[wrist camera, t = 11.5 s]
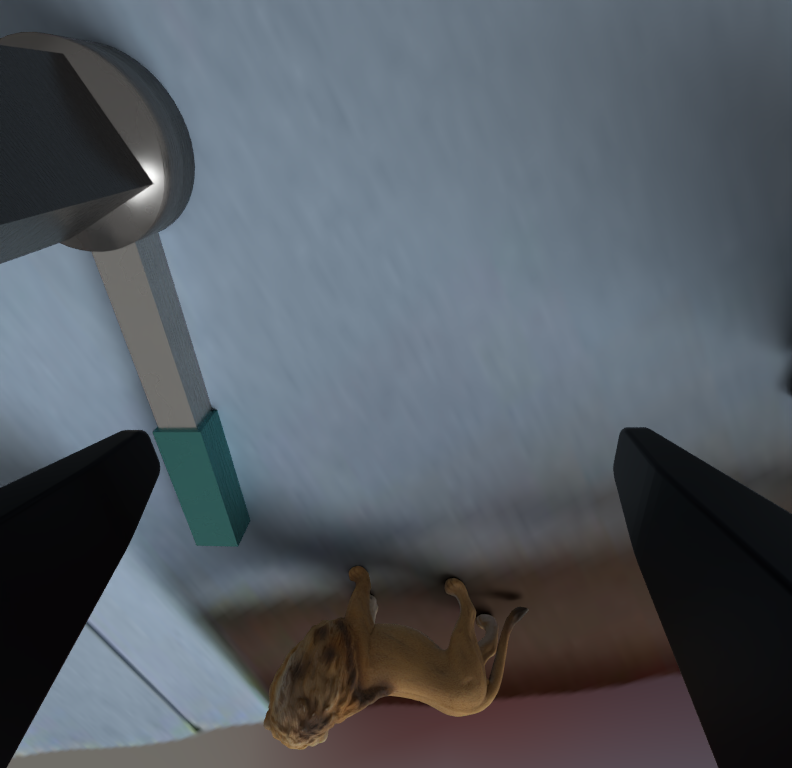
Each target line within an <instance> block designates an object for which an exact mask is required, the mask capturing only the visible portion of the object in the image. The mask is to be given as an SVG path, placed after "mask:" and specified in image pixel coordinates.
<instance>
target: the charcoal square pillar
mask: <svg viewBox="0 0 792 768" xmlns="http://www.w3.org/2000/svg"><path fill="white" fill-rule="evenodd" d="M153 184H154V183H153V182H152V181H151V179H150V178H149V176H148V175H147V173H146V172H145V170H144V169H143V168H142V166H141V165H140V163H139V162H138V160H137V159H136V157H135V156H134V155H133V153H132V152H131V150H130V149H129V147H128V146H127V145H126V143H125V142H124V140H123V139H122V137H121V136H120V134H119V133H118V132H117V130H116V129H115V127H114V126H113V124H112V123H111V121H110V120H109V119H108V117H107V116H106V114H105V113H104V111H103V110H102V109H101V107H100V106H99V104H98V103H97V101H96V100H95V98H94V97H93V96H92V94H91V93H90V91H89V90H88V88H87V87H86V86H85V84H84V83H83V81H82V80H81V78H80V77H79V75H78V74H77V73H76V71H75V70H74V68H73V67H72V65H71V64H70V62H69V61H68V60H67V58H66V57H65V55H64V54H63V53H56V52H49V51H41V50H34V49H26V48H19V47H11V46H4V45H0V264H1V263H4V262H7V261H10V260H13V259H15V258H18V257H21V256H24V255H27V254H29V253H32V252H35V251H38V250H41V249H43V248H46V247H49V246H52V245H55V244H58V243H60V242H63V241H66V240H69V239H71V238H73V237H74V236H76V235H77V234H79V233H80V232H82V231H83V230H85V229H86V228H88V227H89V226H91V225H92V224H94V223H95V222H97V221H98V220H100V219H101V218H103V217H104V216H106V215H107V214H109V213H110V212H112V211H113V210H115V209H116V208H118V207H119V206H121V205H122V204H124V203H126V202H127V201H129V200H130V199H132V198H133V197H135V196H136V195H138V194H139V193H141V192H142V191H144V190H145V189H147V188H148V187H150V186H151V185H153Z"/></svg>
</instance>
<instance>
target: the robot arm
mask: <svg viewBox="0 0 792 768" xmlns="http://www.w3.org/2000/svg"><path fill="white" fill-rule="evenodd" d="M613 471H614V478H615V482H616V486H617V490H618V494H619V498H620V501H621V505H622V509H623V513H624V517H625V521H626V525H627V528H628V532H629V536H630V540H631V543H632V547H633V550H634V554H635V556H636V559H637V562H638V565H639V567H640V570H641V572H642V575H643V578H644V580H645V583H646V585H647V588H648V590H649V593H650V595H651V598H652V600H653V603H654V605H655V608H656V611H657V613H658V616H659V618H660V621H661V623H662V626H663V628H664V631H665V633H666V636H667V639H668V641H669V644H670V646H671V649H672V651H673V654H674V656H675V659H676V661H677V664H678V666H679V669H680V672H681V674H682V677H683V679H684V681H685V684H686V687H687V689H688V692H689V694H690V697H691V699H692V702H693V705H694V707H695V710H696V712H697V715H698V717H699V720H700V722H701V725H702V727H703V730H704V732H705V735H706V737H707V740H708V743H709V745H710V748H711V750H712V753H713V755H714V758H715V760H716V763H717V766H718V768H792V514H791V513H789V512H788V511H786V510H784V509H783V508H781V507H779V506H778V505H776V504H774V503H773V502H771V501H769V500H768V499H766V498H764V497H763V496H761V495H759V494H758V493H756V492H754V491H753V490H751V489H749V488H748V487H746V486H744V485H743V484H741V483H739V482H738V481H736V480H734V479H733V478H731V477H729V476H728V475H726V474H724V473H723V472H721V471H719V470H717V469H716V468H714V467H712V466H711V465H709V464H707V463H706V462H704V461H702V460H701V459H699V458H697V457H696V456H694V455H692V454H691V453H689V452H687V451H686V450H684V449H682V448H681V447H679V446H677V445H676V444H674V443H672V442H671V441H669V440H667V439H666V438H664V437H662V436H661V435H659V434H657V433H656V432H654V431H652V430H651V429H649V428H646V427H626V428H624V429H622V430H621V432H620V435H619V439H618V444H617V449H616V454H615V460H614V466H613ZM159 473H160V462H159V459H158V457H157V454H156V452H155V449H154V447H153V444H152V442H151V439H150V437H149V435H148V434H147V433H146V432H145V431H143V430H123V431H120V432H118V433H116V434H114V435H112V436H110V437H107V438H105V439H103V440H101V441H99V442H97V443H95V444H93V445H90V446H88V447H86V448H84V449H82V450H80V451H78V452H76V453H73V454H71V455H69V456H67V457H65V458H63V459H61V460H59V461H56V462H54V463H52V464H50V465H48V466H46V467H44V468H42V469H39V470H37V471H35V472H33V473H31V474H29V475H27V476H25V477H22V478H20V479H18V480H16V481H14V482H12V483H10V484H8V485H5V486H3V487H1V488H0V768H7V766H8V764H9V763H10V761H11V759H12V757H13V755H14V753H15V752H16V750H17V748H18V746H19V744H20V743H21V741H22V739H23V737H24V735H25V733H26V732H27V730H28V728H29V726H30V724H31V722H32V721H33V719H34V717H35V715H36V713H37V712H38V710H39V708H40V706H41V704H42V702H43V701H44V699H45V697H46V695H47V693H48V692H49V690H50V688H51V686H52V684H53V682H54V681H55V679H56V677H57V675H58V673H59V671H60V670H61V668H62V666H63V664H64V662H65V661H66V659H67V657H68V655H69V653H70V651H71V650H72V648H73V646H74V644H75V642H76V640H77V639H78V637H79V635H80V633H81V631H82V630H83V628H84V626H85V624H86V622H87V620H88V619H89V617H90V615H91V613H92V611H93V610H94V608H95V606H96V604H97V602H98V600H99V599H100V597H101V595H102V593H103V591H104V589H105V588H106V586H107V584H108V582H109V580H110V579H111V577H112V575H113V573H114V571H115V569H116V568H117V566H118V564H119V562H120V560H121V558H122V557H123V555H124V553H125V551H126V549H127V547H128V545H129V543H130V541H131V539H132V537H133V535H134V533H135V530H136V528H137V526H138V523H139V521H140V519H141V516H142V514H143V512H144V509H145V507H146V505H147V502H148V500H149V497H150V495H151V493H152V490H153V488H154V486H155V483H156V481H157V479H158V476H159Z"/></svg>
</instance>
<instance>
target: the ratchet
mask: <svg viewBox="0 0 792 768" xmlns="http://www.w3.org/2000/svg"><path fill="white" fill-rule="evenodd" d="M0 45H4V46H11V47H19V48H26V49H34V50H41V51H49V52H56V53H63V54H64V55H65V57H66V58H67V60H68V61H69V62H70V64H71V65H72V67H73V68H74V70H75V71H76V73H77V74H78V75H79V77H80V78H81V80H82V81H83V83H84V84H85V86H86V87H87V88H88V90H89V91H90V93H91V94H92V96H93V97H94V98H95V100H96V101H97V103H98V104H99V106H100V107H101V109H102V110H103V111H104V113H105V114H106V116H107V117H108V119H109V120H110V121H111V123H112V124H113V126H114V127H115V129H116V130H117V132H118V133H119V134H120V136H121V137H122V139H123V140H124V142H125V143H126V145H127V146H128V147H129V149H130V150H131V152H132V153H133V155H134V156H135V157H136V159H137V160H138V162H139V163H140V165H141V166H142V168H143V169H144V170H145V172H146V173H147V175H148V176H149V178H150V179H151V181H152V182H153V183H154V184H153V185H151V186H150V187H148V188H147V189H145V190H144V191H142V192H141V193H139V194H138V195H136V196H135V197H133V198H132V199H130V200H129V201H127V202H126V203H124V204H122V205H121V206H119V207H118V208H116V209H115V210H113V211H112V212H110V213H109V214H107V215H106V216H104V217H103V218H101V219H100V220H98V221H97V222H95V223H94V224H92V225H91V226H89V227H88V228H86V229H85V230H83V231H82V232H80V233H79V234H77V235H76V236H74V237H73V238H71V239H69V240H66V241H63V242H60V243H61V244H63V245H66V246H68V247H72V248H75V249H79V250H85V251H91V252H92V254H93V257H94V259H95V262H96V264H97V267H98V270H99V272H100V275H101V278H102V280H103V283H104V286H105V288H106V291H107V293H108V296H109V299H110V301H111V304H112V307H113V309H114V312H115V314H116V317H117V320H118V322H119V325H120V328H121V330H122V333H123V336H124V338H125V341H126V343H127V346H128V349H129V351H130V354H131V357H132V359H133V362H134V364H135V367H136V370H137V372H138V375H139V378H140V380H141V383H142V386H143V388H144V391H145V393H146V396H147V399H148V401H149V404H150V407H151V409H152V412H153V415H154V417H155V420H156V422H157V425H158V427H157V428H156V429H155V430H154V431H153V435H154V437H155V440H156V442H157V445H158V448H159V450H160V453H161V455H162V458H163V460H164V463H165V466H166V468H167V471H168V473H169V476H170V478H171V481H172V484H173V486H174V489H175V491H176V494H177V496H178V499H179V501H180V504H181V507H182V509H183V512H184V514H185V517H186V519H187V522H188V525H189V527H190V530H191V532H192V535H193V537H194V540H195V543H196V545H197V546H237V547H238V546H239V543H240V541H241V539H242V537H243V535H244V533H245V531H246V529H247V527H248V524H249V522H250V518H249V515H248V511H247V508H246V505H245V501H244V498H243V495H242V491H241V488H240V485H239V481H238V478H237V475H236V471H235V468H234V465H233V461H232V458H231V455H230V451H229V448H228V445H227V441H226V438H225V435H224V431H223V428H222V425H221V421H220V418H219V415H218V411H217V410H212V406H211V403H210V400H209V397H208V393H207V390H206V387H205V384H204V380H203V377H202V374H201V370H200V367H199V364H198V361H197V357H196V354H195V351H194V348H193V344H192V341H191V338H190V335H189V331H188V328H187V325H186V321H185V318H184V315H183V312H182V308H181V305H180V302H179V299H178V295H177V292H176V289H175V285H174V282H173V279H172V276H171V272H170V269H169V266H168V263H167V259H166V256H165V253H164V249H163V246H162V243H161V240H160V236H159V233H158V232H160V231H162V230H164V229H165V228H167V227H168V226H170V225H171V224H173V223H174V222H175V221H176V220H177V219H178V218H179V216H180V215H181V214H182V212H183V211H184V209H185V207H186V205H187V203H188V201H189V199H190V196H191V193H192V189H193V184H194V175H195V163H194V153H193V148H192V142H191V139H190V136H189V132H188V129H187V127H186V124H185V122H184V119H183V117H182V115H181V113H180V111H179V109H178V108H177V106H176V104H175V102H174V101H173V99H172V98H171V96H170V95H169V93H168V92H167V90H166V89H165V88H164V87H163V86H162V84H161V83H160V82H159V81H158V80H157V79H156V78H155V77H154V76H153V75H152V74H151V73H150V72H149V71H148V70H147V69H146V68H145V67H144V66H142V65H141V64H140V63H138V62H137V61H136V60H135V59H133V58H131V57H130V56H128V55H126V54H125V53H123V52H121V51H119V50H117V49H114V48H112V47H110V46H107V45H103V44H100V43H96V42H90V41H85V40H79V39H74V38H68V37H62V36H57V35H51V34H45V33H38V32H20V33H16V34H11V35H7V36H5V37H3V38H0Z"/></svg>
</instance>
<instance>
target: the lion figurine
mask: <svg viewBox="0 0 792 768" xmlns="http://www.w3.org/2000/svg"><path fill="white" fill-rule="evenodd" d="M349 578H350V580H351V581H354V582H355V583H356V587H355V590H354V592H353V594H352V596H351V598H350V601H349V604H348V607H347V611H346V615H345V617H344V618H337V619H335V620H331V621H329V620H322V621H321V622H320V623H319V624H317V625H314V626H312V628H311V629H310V631H309V632H308V633H307V634H306V636H305V637H304V639H303V640H302V641H301V642H299V643H298V644H297V645H296V646H295V647H294V648H292V649H291V650H290V652H289V653H288V654H287V656H286V657H285V659H284V662H283V664H282V665H281V666H280V668H279V669H278V671H277V673H276V675H275V677H274V680H273V682H272V684H271V686H270V689H269V697H270V704H269V710H268V711H267V713H266V717H265V720H264V727H265V729H267V730H271V732H272V735H273V737H274V738H275V739H277V740H280V741H281V742H282V744H284V745H286V746H287V747H288V748H291V749H302V750H303V749H305V748H306V747H307V746H315V745H317V744H318V743H322V742H324V741H325V740H326V738H327V736H328V730H329V729H330V728H332V727H334V724H337V723H341V722H343V721H344V720H345V719H346V718H347V717H350V716H352V715H354V713H357V712H359V711H361V710H362V709H364V708H366V707H367V706H368V705H370V704H373V703H374V702H375V701H376V700H377V699H379V698H381V697H384V696H398V697H405V698H410V699H414V700H418V701H421V702H424V703H426V704H428V705H430V706H432V707H434V708H435V709H437V710H439V711H441V712H443V713H445V714H447V715H451V716H458V717H459V716H466V715H470V714H475V713H478V712H480V711H482V710H484V709H485V708H486V707H488V706H489V705H490V704H491V702H492V701H493V700H494V698H495V696H496V694H497V692H498V690H499V687H500V684H501V681H502V676H503V671H504V665H505V658H506V651H507V645H508V639H509V635H510V633H511V630H512V628H513V627H514V625H515V624H516V623H517V622H518V621H520V620H521V619H522V617H523V616H524V615H525V614H526V613H527V612H528V608H524V607H517V608H515V609H514V610H513V611H512V612H511V613H510V615H509V616H508V617H507V619H506V621H505V624H504V627H503V630H502V632H501V636H500V640H499V643H498V647H497V639H498V624H497V621H496V619H495V618H494V617H493V616H491V615H487V614H481V615H479V616H478V617H477V618H476V610H475V608H474V606H473V604H472V602H471V600H470V598H469V596H468V593H467V590H466V587H465V585H464V584H463V583H462V582H461V581H460V580H458V579H455V578H451V579H448V580H447V581H446V583H445V592H446V593H447V594H449V595H453V596H455V597H456V598H457V600H458V602H459V605H460V616H459V618H458V621H457V623H456V625H455V627H454V630H453V632H452V635H451V639H450V644H449V647H448V648H447V649H446V650H443V649H441V648H440V647H439V646H437V645H436V644H435V643H434V642H433V641H432V640H431V639H430V638H429V637H428V636H426V635H425V634H423V633H422V632H420V631H418V630H416V629H413V628H411V627H407V626H403V625H398V624H375V617H376V613H377V610H378V605H377V603H376V598H375V597H374V596H373V595H370V589H371V583H370V578H369V574H368V572H367V571H366V570H365V569H364V568H363V567H361V566H354V567H352V568H351V569H350V571H349ZM475 618H476V623H477V625H478V626H479V627H480V628H482V629H485V631H486V634H485V636H484V637H483V638H482V640H481V641H479V642H477V639H476V636H475V632H474V621H475ZM496 650H497V651H496ZM495 653H496V656H495V660H494V663H493V667H492V671H491V674H490V677H489V680H488V679H486V675H485V668H484V666H485V664H486V662H487V660H488V659H489V658H490V657H492V656H493V655H494V654H495Z"/></svg>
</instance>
